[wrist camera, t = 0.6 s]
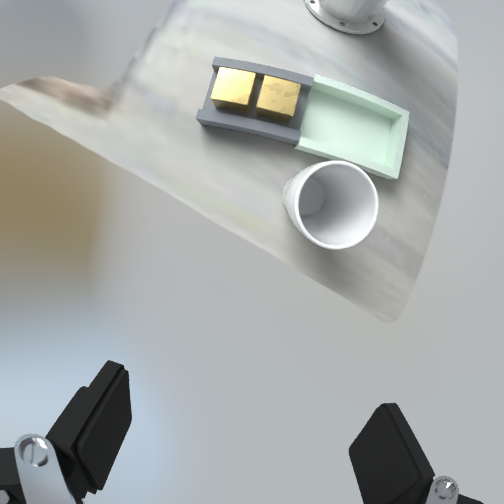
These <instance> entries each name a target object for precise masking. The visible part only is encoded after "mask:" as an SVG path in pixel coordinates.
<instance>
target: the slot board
mask: <svg viewBox="0 0 504 504" xmlns="http://www.w3.org/2000/svg"><path fill="white" fill-rule="evenodd" d="M212 66H213V69H214V73H213V76H212V79H211V82H210V86H209V89H208V92H207V96H206V99H205V102H204V106H203V109H198V112H197V116H196V119H197V120H198V122H199V123H200V124H203V125H209V126H215V127H220V128H225V129H230V130H235V131H240V132H244V133H249V134H253V135H258V136H262V137H266V138H270V139H274V140H278V141H282V142H286V143H290V144H293V145H296V144H297V143H298V142H299V141H300V136H301V132H302V131H300V128H301V123H302V119H303V115H304V111H305V107H306V102H307V98H308V94H309V91H310V89H311V88H312V85H313V81H314V78H312V77H309V76H305V75H302V74H298V73H294V72H291V71H287V70H283V69H279V68H274V67H270V66H265V65H261V64H256V63H251V62H245V61H239V60H233V59H227V58H220V57H214V60H213V63H212ZM220 67H223V68H229V69H236V70H241V71H247V72H252V73H256V85H255V89H254V93H253V96H252V100H251V104H250V107H249V111H248V114H246V113H241V112H237V111H231V110H226V109H221V108H215V106H214V104H213V102H212V100H211V95H212V92H213V88H214V85H215V82H216V79H217V76H218V72H219V69H220ZM265 75H266V76H271V77H275V78H279V79H283V80H287V81H291V82H295V83H298V84H301V86H300V90H299V94H298V99H297V103H296V107H295V111H294V115H293V117H292V119H291V120H290V122H289V124H288V123H284V122H280V121H277V120H273V119H268V118H264V117H260V116H256V106H257V103H258V99H259V95H260V91H261V88H262V84H263V81H264V77H265Z"/></svg>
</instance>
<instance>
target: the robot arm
mask: <svg viewBox="0 0 504 504" xmlns="http://www.w3.org/2000/svg"><path fill="white" fill-rule="evenodd" d="M304 1H305V4H306V6H307V7H308V9H309V10H310V11H311V12H312V14H313V15H314V16H316V17H317V18H318V19H319V20H320V21H322V22H324V23H325V24H327V25H329V26H331V27H333V28H335V29H337V30H340V31H343V32H347V33H351V34H369V33H372V32H374V31H376V30H377V29H379V28H380V26H381V25H382V24H383V22H384V20H385V13H384V9H383V6H384V5H385V4H386V3H387V1H388V0H304ZM131 420H132V413H131V403H130V389H129V374H128V371H127V370H125V369H124V365H122V364H118V363H116V362H113V361H110V360H108V361H107V362H106V363H105V365H104V366H103V367H102V369H101V370H100V372H99V373H98V374H97V376H96V377H95V379H94V380H93V381H92V383H91V384H90V386H89V387H85V386H83V387H81V388H80V389H79V390H78V391H77V392H76V394H75V395H74V397H73V398H72V399H71V401H70V402H69V404H68V405H67V406H66V408H65V409H64V411H63V412H62V414H61V415H60V416H59V418H58V419H57V421H56V422H55V423H54V425H53V426H52V428H51V429H50V431H49V432H48V434H47V435H46V437H45V438H44V437H43V436H40V435H37V434H26V435H24V436H22V437H20V438H19V439H18V440H17V441H16V444H15V446H14V447H12V448H0V504H85V503H84V500H83V498H85V496H86V494H87V491H88V492H91V493H93V494H96V492H97V489H98V490H102V489H103V487H104V485H105V483H106V480H107V478H108V475H109V473H110V470H111V468H112V465H113V463H114V461H115V458H116V456H117V454H118V452H119V449H120V447H121V445H122V442H123V440H124V438H125V435H126V433H127V431H128V429H129V427H130V424H131ZM349 456H350V459H351V462H352V466H353V469H354V472H355V475H356V479H357V482H358V485H359V489H360V492H361V496H362V499H363V503H364V504H483V503H482V502H480V501H477V500H475V499H471V498H469V497H466V496H463V495H461V494H458V493H459V488H458V485H457V483H456V482H455V481H454V480H453V479H452V478H450V477H447V476H440V477H438V478H436V479H435V480H433V477H434V476H435V473H434V471H433V469H432V467H431V466H430V463H429V461H428V460H427V458H426V456H425V454H424V452H423V450H422V448H421V446H420V444H419V443H418V441H417V439H416V437H415V435H414V433H413V432H412V430H411V428H410V426H409V424H408V423H407V421H406V419H405V417H404V416H403V414H402V412H401V410H400V408H399V407H398V405H397V404H396V403H384V404H381V405H380V406H379V407H378V408H377V409H376V410H375V411H374V413H373V415H372V416H371V418H370V419H369V421H368V422H367V424H366V425H365V427H364V428H363V429H362V431H361V432H360V434H359V435H358V436H357V438H356V439H355V440H354V442H353V443H352V444H351V446H350V448H349Z"/></svg>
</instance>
